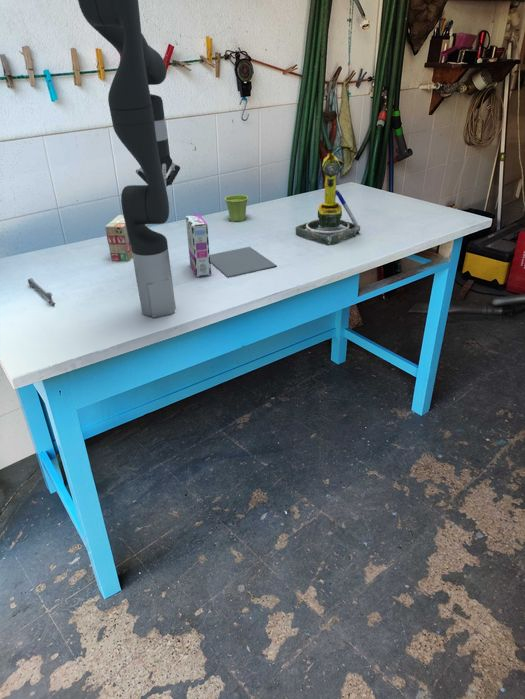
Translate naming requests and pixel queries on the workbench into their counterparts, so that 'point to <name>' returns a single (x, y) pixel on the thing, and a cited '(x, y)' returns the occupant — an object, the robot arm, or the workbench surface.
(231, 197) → the plant pot
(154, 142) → the robot arm
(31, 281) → the combination wrench
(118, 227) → the stack of blocks
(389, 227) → the workbench surface
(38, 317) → the workbench surface
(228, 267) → the rubber mat
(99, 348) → the workbench surface
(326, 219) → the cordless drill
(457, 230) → the workbench surface
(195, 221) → the candy bar box
